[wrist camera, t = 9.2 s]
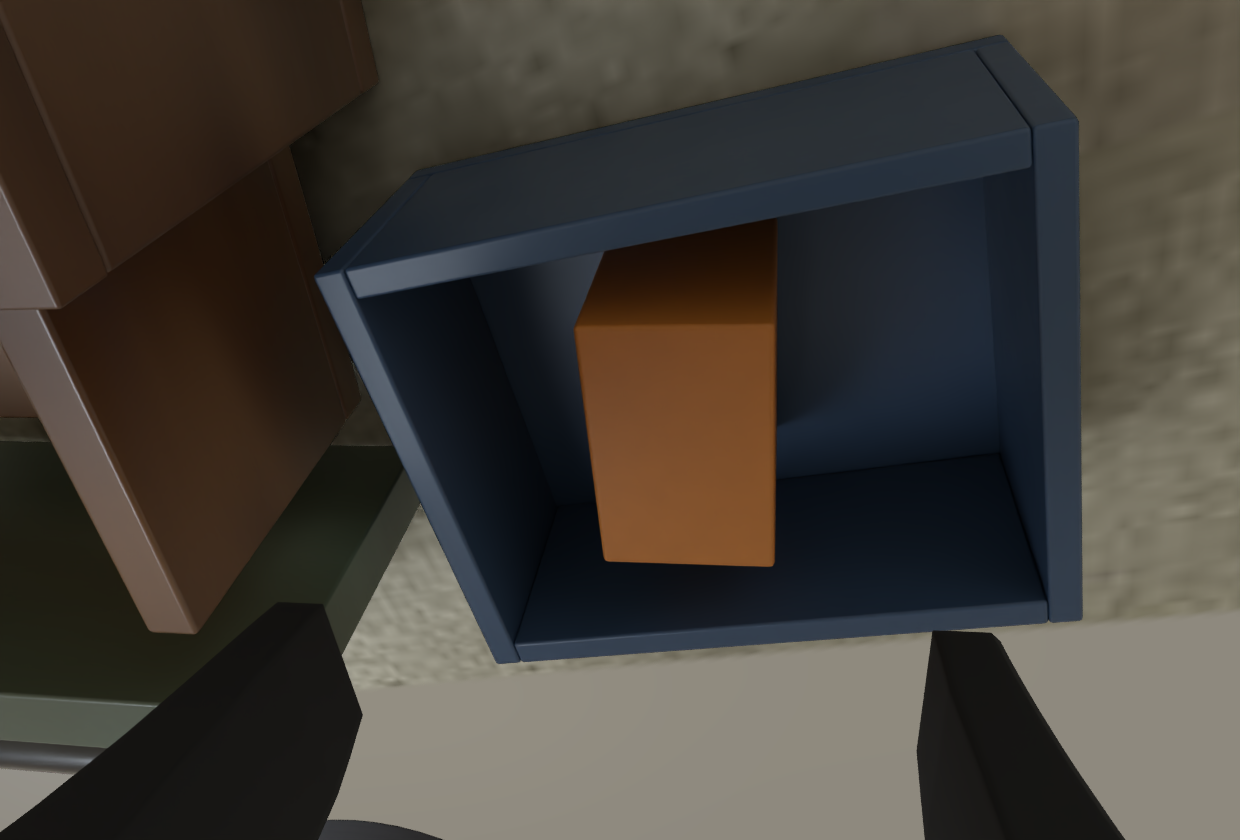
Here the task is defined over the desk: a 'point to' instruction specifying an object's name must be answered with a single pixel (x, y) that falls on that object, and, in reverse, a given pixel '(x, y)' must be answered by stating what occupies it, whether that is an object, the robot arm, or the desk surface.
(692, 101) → the desk surface
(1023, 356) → the open box
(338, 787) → the robot arm
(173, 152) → the cabinet
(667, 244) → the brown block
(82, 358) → the drawer
